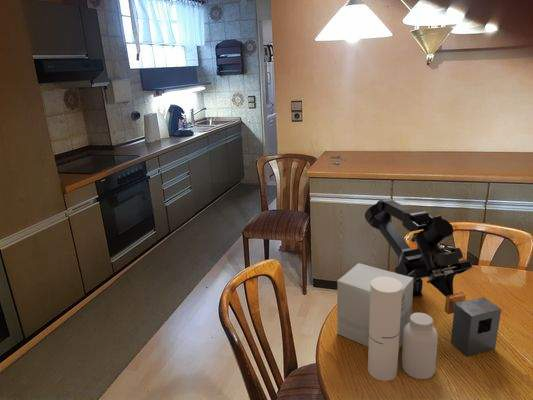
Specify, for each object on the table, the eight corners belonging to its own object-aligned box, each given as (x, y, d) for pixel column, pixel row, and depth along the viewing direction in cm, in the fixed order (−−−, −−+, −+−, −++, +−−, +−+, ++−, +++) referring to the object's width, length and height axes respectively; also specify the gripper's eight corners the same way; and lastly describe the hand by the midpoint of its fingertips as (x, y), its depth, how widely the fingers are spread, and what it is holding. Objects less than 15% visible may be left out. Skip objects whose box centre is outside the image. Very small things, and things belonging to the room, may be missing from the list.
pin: (444, 311, 113) (446, 295, 111) (460, 307, 114) (462, 292, 112) (465, 328, 105) (467, 311, 103) (481, 324, 106) (484, 307, 105)
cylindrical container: (398, 382, 96) (404, 293, 88) (368, 379, 98) (371, 291, 90) (395, 361, 103) (400, 277, 95) (367, 359, 104) (370, 275, 96)
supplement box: (411, 332, 114) (415, 277, 108) (393, 359, 104) (396, 299, 98) (357, 312, 124) (358, 261, 119) (335, 334, 115) (335, 280, 109)
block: (450, 342, 109) (455, 303, 105) (478, 335, 111) (483, 297, 107) (466, 356, 103) (471, 316, 99) (495, 349, 105) (501, 309, 101)
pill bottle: (407, 353, 106) (411, 305, 101) (439, 366, 101) (444, 316, 96) (396, 371, 100) (399, 321, 95) (428, 385, 95) (433, 333, 90)
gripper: (415, 244, 111) (438, 299, 104) (471, 234, 115) (497, 286, 108) (398, 258, 120) (418, 308, 113) (450, 248, 124) (472, 296, 118)
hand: (451, 300), depth 113 cm, fingers closed
